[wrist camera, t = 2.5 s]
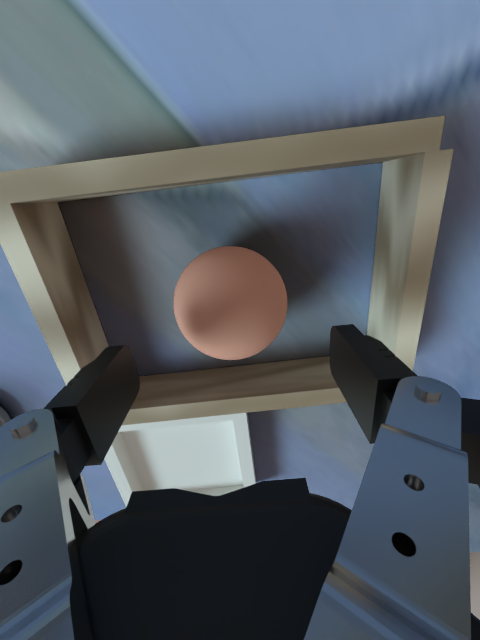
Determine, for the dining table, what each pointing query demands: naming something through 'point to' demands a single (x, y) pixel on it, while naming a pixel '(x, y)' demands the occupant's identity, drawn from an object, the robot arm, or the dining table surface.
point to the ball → (230, 303)
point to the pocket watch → (3, 417)
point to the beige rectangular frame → (221, 166)
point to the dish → (183, 455)
